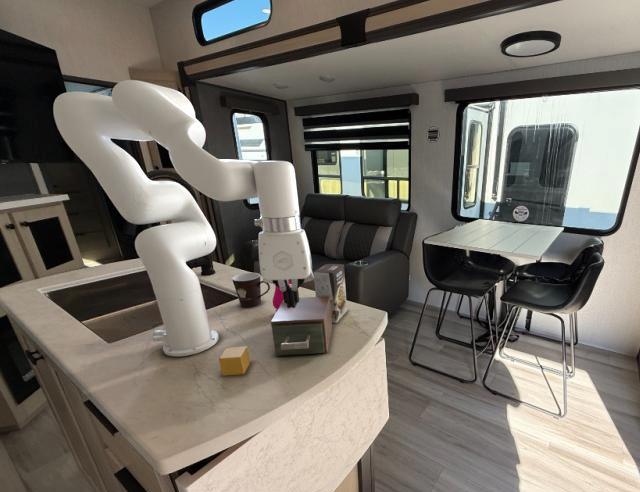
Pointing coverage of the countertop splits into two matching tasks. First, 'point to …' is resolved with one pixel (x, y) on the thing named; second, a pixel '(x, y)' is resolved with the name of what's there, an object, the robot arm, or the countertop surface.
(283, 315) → the cabinet
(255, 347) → the countertop surface
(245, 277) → the coffee mug
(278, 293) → the pepper mill
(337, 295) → the coffee box
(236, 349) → the block
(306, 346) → the drawer
